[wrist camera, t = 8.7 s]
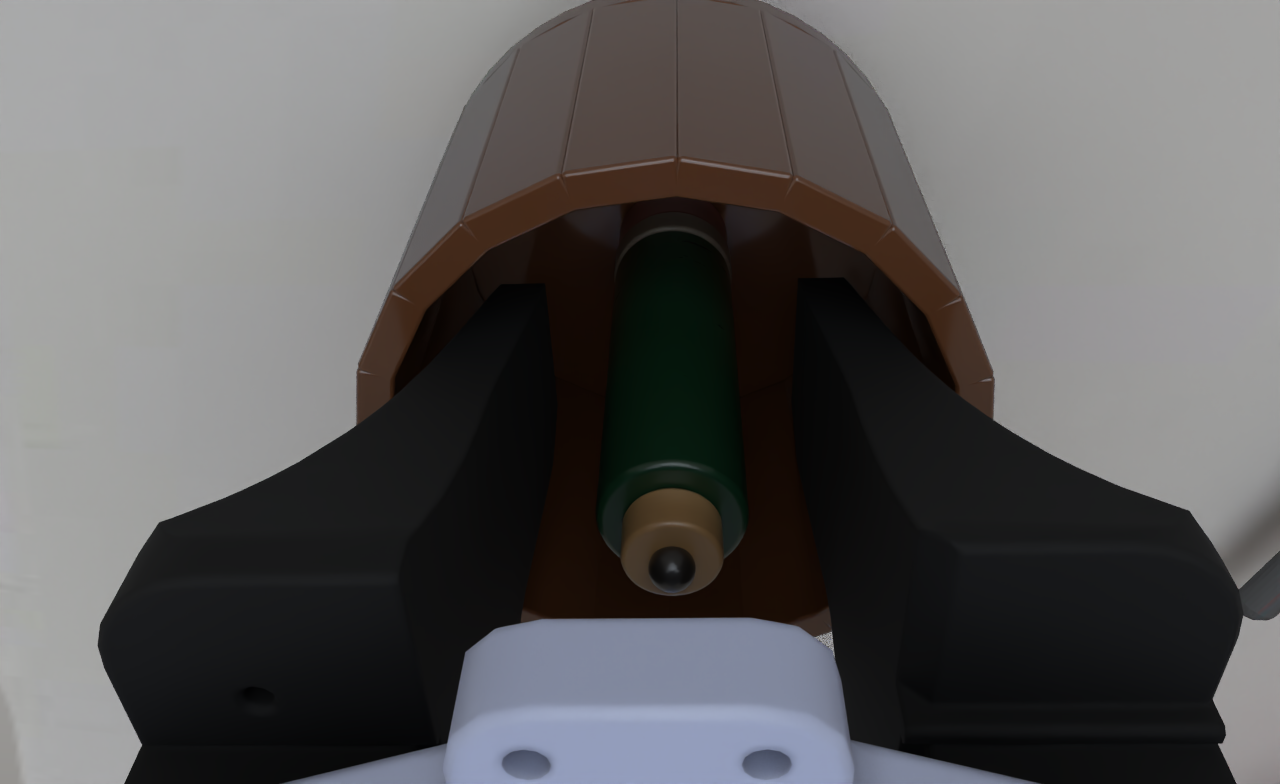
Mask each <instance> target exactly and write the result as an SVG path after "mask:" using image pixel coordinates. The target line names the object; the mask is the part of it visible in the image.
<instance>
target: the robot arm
mask: <svg viewBox="0 0 1280 784" xmlns="http://www.w3.org/2000/svg"><path fill="white" fill-rule="evenodd" d="M557 407H558V403H557V394H556V384H555V374H554V365H553V355H552V345H551V335H550V326H549V316H548V306H547V297H546V287H545V283H539V284H501V285H500V286H499V287H498V288H497V289H496V290H495V291H494V292H493V293H492V294H491V295H490V296H489V297H488V298H487V300H486V301H485V302H484V303H483V304H482V305H481V307H480V308H479V309H478V310H477V311H476V313H475V314H474V315H473V316H472V317H471V318H470V320H469V321H468V322H467V323H466V324H465V325H464V326H463V328H462V329H461V330H460V331H459V332H458V333H457V334H456V335H455V337H454V338H453V339H452V340H451V341H450V342H449V343H448V344H447V345H446V346H445V347H444V348H443V349H442V351H441V352H440V353H439V354H438V355H437V356H436V357H435V358H434V359H433V360H432V361H431V362H430V363H429V364H428V365H427V366H426V367H425V368H424V369H423V370H422V371H421V372H420V373H419V374H418V375H417V376H416V377H415V378H414V379H413V380H412V381H410V382H409V383H408V384H407V385H406V386H405V387H404V388H403V389H402V390H401V391H400V392H399V393H397V394H396V395H395V396H394V397H393V398H392V399H390V400H389V401H388V402H387V403H385V404H384V405H383V406H382V407H381V408H379V409H378V410H377V411H375V412H374V413H373V414H371V415H370V416H369V417H367V418H366V419H365V420H363V421H362V422H361V423H359V424H358V425H357V426H355V427H354V428H352V429H351V430H349V431H348V432H347V433H345V434H343V435H342V436H340V437H339V438H337V439H335V440H334V441H332V442H330V443H329V444H327V445H326V446H324V447H322V448H321V449H319V450H318V451H316V452H314V453H313V454H311V455H309V456H308V457H306V458H305V459H303V460H301V461H300V462H298V463H296V464H294V465H292V466H290V467H289V468H287V469H285V470H283V471H281V472H279V473H277V474H275V475H273V476H271V477H269V478H267V479H265V480H263V481H261V482H259V483H257V484H255V485H252V486H250V487H248V488H246V489H244V490H242V491H240V492H237V493H235V494H233V495H230V496H228V497H226V498H223V499H221V500H218V501H216V502H213V503H210V504H208V505H205V506H202V507H200V508H197V509H195V510H192V511H189V512H187V513H184V514H182V515H179V516H176V517H174V518H171V519H168V520H165V521H162V522H159V524H158V525H157V527H156V528H155V530H154V531H153V533H152V534H151V536H150V537H149V539H148V540H147V542H146V543H145V545H144V546H143V548H142V549H141V551H140V552H139V554H138V556H137V558H136V559H135V561H134V563H133V565H132V567H131V568H130V570H129V572H128V574H127V576H126V578H125V579H124V581H123V583H122V585H121V587H120V589H119V590H118V592H117V594H116V596H115V598H114V600H113V601H112V603H111V605H110V607H109V609H108V611H107V612H106V614H105V616H104V618H103V620H102V622H101V623H100V630H99V639H98V648H99V652H100V655H101V658H102V662H103V665H104V668H105V670H106V672H107V675H108V677H109V679H110V681H111V683H112V685H113V687H114V689H115V691H116V693H117V695H118V697H119V699H120V701H121V703H122V705H123V707H124V709H125V711H126V713H127V715H128V717H129V719H130V721H131V723H132V725H133V727H134V729H135V731H136V733H137V735H138V737H139V739H140V741H141V743H142V747H141V749H140V751H139V753H138V755H137V757H136V760H135V762H134V764H133V766H132V768H131V770H130V773H129V775H128V777H127V779H126V781H125V783H124V784H1236V782H1235V780H1234V777H1233V775H1232V773H1231V771H1230V769H1229V767H1228V765H1227V763H1226V760H1225V758H1224V756H1223V754H1222V752H1221V750H1220V748H1219V745H1218V743H1223V741H1224V738H1225V736H1226V732H1225V725H1224V723H1223V721H1222V719H1221V717H1220V715H1219V713H1218V710H1217V708H1216V706H1215V704H1214V702H1213V700H1212V699H1213V697H1214V694H1215V692H1216V689H1217V687H1218V685H1219V682H1220V680H1221V677H1222V675H1223V673H1224V670H1225V668H1226V665H1227V663H1228V661H1229V658H1230V656H1231V653H1232V651H1233V649H1234V646H1235V644H1236V641H1237V639H1238V636H1239V632H1240V627H1241V623H1242V618H1243V608H1242V603H1241V598H1240V593H1239V589H1238V588H1237V586H1236V584H1235V582H1234V581H1233V579H1232V577H1231V575H1230V573H1229V572H1228V570H1227V568H1226V566H1225V564H1224V562H1223V561H1222V559H1221V557H1220V556H1219V554H1218V552H1217V551H1216V549H1215V547H1214V546H1213V544H1212V542H1211V541H1210V540H1209V538H1208V537H1207V535H1206V534H1205V533H1204V531H1203V530H1202V528H1201V527H1200V526H1199V524H1198V523H1197V521H1196V520H1195V519H1194V517H1193V516H1192V514H1191V513H1190V511H1188V510H1185V509H1182V508H1179V507H1177V506H1174V505H1171V504H1168V503H1165V502H1162V501H1160V500H1157V499H1154V498H1151V497H1148V496H1145V495H1143V494H1140V493H1137V492H1134V491H1131V490H1128V489H1126V488H1123V487H1120V486H1118V485H1115V484H1113V483H1111V482H1108V481H1106V480H1104V479H1102V478H1099V477H1097V476H1095V475H1093V474H1090V473H1088V472H1086V471H1084V470H1081V469H1079V468H1077V467H1075V466H1073V465H1071V464H1069V463H1067V462H1065V461H1063V460H1061V459H1059V458H1057V457H1055V456H1053V455H1051V454H1049V453H1047V452H1046V451H1044V450H1042V449H1040V448H1038V447H1037V446H1035V445H1033V444H1031V443H1030V442H1028V441H1026V440H1024V439H1023V438H1021V437H1019V436H1017V435H1016V434H1014V433H1013V432H1011V431H1009V430H1008V429H1006V428H1005V427H1003V426H1001V425H1000V424H998V423H997V422H995V421H994V420H992V419H991V418H990V417H988V416H987V415H985V414H984V413H983V412H981V411H980V410H978V409H977V408H976V407H974V406H973V405H971V404H970V403H969V402H967V401H966V400H964V399H963V398H962V397H961V396H959V395H958V394H957V393H956V392H954V391H953V390H952V389H951V388H949V387H948V386H947V385H946V384H945V383H944V382H942V381H941V380H940V379H939V378H938V377H937V376H936V375H934V374H933V373H932V372H931V371H930V370H929V369H928V368H926V367H925V366H924V365H923V364H922V363H921V362H920V361H919V360H918V359H917V358H916V357H915V356H914V355H913V354H912V353H911V352H910V351H909V350H908V349H907V348H906V347H905V345H904V344H903V343H902V342H901V341H900V340H899V339H898V338H897V337H896V336H895V335H894V334H893V333H892V332H891V331H890V330H889V329H888V327H887V326H886V325H885V324H884V323H883V322H882V321H881V320H880V318H879V317H878V316H877V315H876V314H875V313H874V312H873V310H872V309H871V308H870V307H869V306H868V304H867V303H866V302H865V301H864V300H863V298H862V297H861V296H860V295H859V294H858V292H857V291H856V290H855V289H854V288H853V286H852V285H851V284H850V283H849V282H848V281H847V280H846V279H845V278H844V277H838V278H798V289H797V307H796V326H795V345H794V364H793V383H792V413H793V425H794V436H795V447H796V457H797V464H798V469H799V473H800V478H801V483H802V487H803V491H804V496H805V500H806V505H807V509H808V514H809V518H810V522H811V527H812V531H813V535H814V540H815V544H816V549H817V553H818V557H819V562H820V566H821V570H822V575H823V579H824V584H825V588H826V594H827V599H828V605H829V611H830V617H831V625H832V634H833V643H834V652H835V658H834V655H833V652H832V650H831V649H830V648H828V647H827V646H826V645H824V644H823V643H821V642H820V641H818V640H817V639H816V638H814V637H813V636H811V635H810V634H809V633H807V632H806V631H804V630H803V629H801V628H800V627H798V626H794V625H790V624H784V623H778V622H773V621H767V620H761V619H756V618H605V619H540V620H535V621H530V622H525V623H521V615H522V609H523V603H524V598H525V592H526V587H527V582H528V578H529V573H530V569H531V564H532V559H533V555H534V550H535V546H536V541H537V537H538V532H539V528H540V523H541V519H542V514H543V510H544V505H545V500H546V496H547V491H548V486H549V482H550V477H551V472H552V467H553V459H554V447H555V435H556V421H557ZM835 661H836V662H835Z"/></svg>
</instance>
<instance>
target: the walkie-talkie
mask: <svg viewBox="0 0 1280 784" xmlns="http://www.w3.org/2000/svg"><path fill="white" fill-rule="evenodd" d="M1239 593H1240V598H1241V603H1242V608H1243V615H1244V616H1245V617H1248V618H1250V619H1252V620H1269V619H1272V618H1274V617H1275V616H1277V615H1278V614H1279V613H1280V551H1279V552H1278V553H1277V554H1276V555H1275V556H1274V557H1273V558H1272V559H1271V560H1270V561H1269V562H1268V563H1266V564H1265V565H1264V566H1263V567H1262V568H1261V569H1260V570H1259V571H1258V572H1257V573H1256V574H1255V575H1254V576H1253V577H1252V578H1251V579H1250V580H1249V581H1248V582H1247V583H1246V584H1245V585H1244V586H1243V587H1241V588H1240V589H1239Z"/></svg>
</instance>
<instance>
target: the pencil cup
mask: <svg viewBox="0 0 1280 784" xmlns="http://www.w3.org/2000/svg"><path fill="white" fill-rule="evenodd" d="M671 197H681V198H688V199H694V200H701V201H707V202H709V203H711V204H712V205H713V206H714V207H715V208H716V210H717V211H718V212H719V213H720V215H721V217H722V219H723V221H724V224H725V227H726V232H727V244H728V249H729V252H730V257H731V269H732V282H731V295H732V307H733V320H734V332H735V345H736V357H737V370H738V382H739V395H740V407H741V420H742V433H743V445H744V458H745V470H746V483H747V495H748V508H749V521H748V526H747V530H746V532H745V534H744V536H743V538H742V540H741V541H740V543H739V544H738V546H737V547H736V548H735V549H734V551H733V552H732V553H731V554H729V555H728V556H727V557H726V558H724V562H723V565H722V568H721V570H720V572H719V574H718V575H717V577H716V578H715V579H714V580H713V581H712V582H711V583H710V584H709V585H707V586H706V587H704V588H702V589H700V590H698V591H696V592H693V593H690V594H685V595H677V596H667V595H660V594H655V593H652V592H649V591H647V590H644V589H642V588H641V587H639V586H638V585H636V584H635V583H634V582H633V581H632V580H630V578H629V577H628V576H627V574H626V573H625V571H624V569H623V567H622V564H621V559H620V557H618V556H617V555H616V554H615V553H614V552H613V551H612V550H611V549H610V548H609V547H608V546H607V544H606V543H605V541H604V539H603V538H602V536H601V534H600V532H599V529H598V527H597V522H596V502H597V491H598V479H599V467H600V456H601V444H602V432H603V421H604V409H605V398H606V386H607V374H608V363H609V351H610V339H611V328H612V316H613V305H614V293H615V281H614V270H615V259H616V253H617V250H618V246H619V235H620V228H621V225H622V222H623V220H624V218H625V216H626V214H627V213H628V211H629V210H630V209H631V208H632V207H633V206H634V205H635V204H636V203H637V202H642V201H649V200H657V199H664V198H671ZM838 277H844V278H845V279H846V280H847V281H848V282H849V283H850V284H851V285H852V286H853V288H854V289H855V290H856V291H857V292H858V294H859V295H860V296H861V297H862V298H863V300H864V301H865V302H866V303H867V304H868V306H869V307H870V308H871V309H872V310H873V312H874V313H875V314H876V315H877V316H878V317H879V318H880V320H881V321H882V322H883V323H884V324H885V325H886V326H887V327H888V329H889V330H890V331H891V332H892V333H893V334H894V335H895V336H896V337H897V338H898V339H899V340H900V341H901V342H902V343H903V344H904V345H905V347H906V348H907V349H908V350H909V351H910V352H911V353H912V354H913V355H914V356H915V357H916V358H917V359H918V360H919V361H920V362H921V363H922V364H923V365H924V366H925V367H926V368H928V369H929V370H930V371H931V372H932V373H933V374H934V375H936V376H937V377H938V378H939V379H940V380H941V381H942V382H944V383H945V384H946V385H947V386H948V387H949V388H951V389H952V390H953V391H954V392H956V393H957V394H958V395H959V396H961V397H962V398H963V399H964V400H966V401H967V402H969V403H970V404H971V405H973V406H974V407H976V408H977V409H978V410H980V411H981V412H983V413H984V414H985V415H987V416H988V417H990V418H991V419H992V420H993V417H994V387H995V379H994V376H993V369H992V367H991V364H990V362H989V359H988V357H987V354H986V352H985V349H984V346H983V344H982V341H981V339H980V336H979V334H978V331H977V329H976V326H975V324H974V321H973V319H972V316H971V314H970V311H969V309H968V306H967V304H966V301H965V298H964V296H963V294H962V291H961V289H960V286H959V284H958V281H957V279H956V276H955V274H954V271H953V269H952V267H951V264H950V262H949V259H948V257H947V254H946V252H945V249H944V247H943V244H942V242H941V240H940V237H939V235H938V232H937V230H936V227H935V225H934V222H933V220H932V217H931V215H930V212H929V210H928V208H927V205H926V203H925V200H924V198H923V195H922V193H921V190H920V188H919V185H918V183H917V181H916V178H915V176H914V173H913V171H912V168H911V166H910V163H909V161H908V158H907V156H906V154H905V151H904V149H903V146H902V144H901V141H900V139H899V136H898V134H897V131H896V129H895V127H894V124H893V122H892V119H891V117H890V114H889V112H888V109H887V108H886V107H885V105H884V103H883V102H882V100H881V99H880V97H879V96H878V94H877V93H876V91H875V89H874V88H873V86H872V85H871V83H870V82H869V80H868V79H867V77H866V76H865V75H864V74H863V73H862V71H861V70H860V69H859V68H858V67H857V66H856V65H855V63H854V62H853V61H852V60H851V59H850V58H849V57H848V55H847V54H846V53H844V52H843V51H842V50H841V49H840V48H839V47H837V46H836V45H835V44H834V43H833V42H832V41H830V40H829V39H828V38H827V37H826V36H825V35H823V34H822V33H821V32H819V31H817V30H816V29H814V28H813V27H811V26H810V25H808V24H806V23H805V22H803V21H802V20H800V19H799V18H797V17H795V16H794V15H791V14H789V13H787V12H785V11H783V10H780V9H778V8H776V7H774V6H771V5H769V4H767V3H765V2H762V1H759V0H592V1H590V2H587V3H585V4H582V5H580V6H577V7H575V8H573V9H570V10H568V11H565V12H563V13H562V14H560V15H558V16H556V17H555V18H553V19H551V20H549V21H548V22H546V23H544V24H542V25H541V26H539V27H537V28H536V29H534V30H533V31H532V32H531V33H529V34H528V35H527V36H525V37H524V38H523V39H522V40H520V41H519V42H518V43H516V44H515V45H514V46H513V47H511V48H510V49H509V50H508V51H507V52H506V53H505V54H504V55H503V57H502V58H501V59H500V60H499V61H498V62H497V63H496V64H495V65H494V66H493V67H492V68H491V69H490V70H489V71H488V73H487V74H486V75H485V77H484V78H483V80H482V81H481V82H480V84H479V85H478V87H477V88H476V89H475V91H474V92H473V93H472V95H471V97H470V99H469V100H468V102H467V104H466V105H465V106H464V108H463V111H462V113H461V115H460V118H459V120H458V122H457V124H456V127H455V129H454V132H453V134H452V136H451V139H450V141H449V143H448V146H447V148H446V150H445V153H444V155H443V157H442V160H441V162H440V164H439V167H438V169H437V172H436V174H435V177H434V179H433V181H432V184H431V186H430V189H429V191H428V194H427V196H426V199H425V201H424V204H423V206H422V208H421V211H420V213H419V216H418V218H417V221H416V223H415V226H414V228H413V230H412V233H411V235H410V238H409V240H408V243H407V245H406V248H405V250H404V252H403V255H402V257H401V260H400V262H399V265H398V267H397V270H396V272H395V274H394V277H393V279H392V282H391V284H390V287H389V289H388V292H387V294H386V296H385V299H384V301H383V304H382V306H381V309H380V311H379V314H378V316H377V319H376V321H375V323H374V326H373V328H372V331H371V333H370V336H369V338H368V341H367V343H366V345H365V348H364V350H363V353H362V355H361V358H360V360H359V363H358V369H357V371H356V426H357V425H358V424H359V423H361V422H362V421H363V420H365V419H366V418H367V417H369V416H370V415H371V414H373V413H374V412H375V411H377V410H378V409H379V408H381V407H382V406H383V405H384V404H385V403H387V402H388V401H389V400H390V399H392V398H393V397H394V396H395V395H396V394H397V393H399V392H400V391H401V390H402V389H403V388H404V387H405V386H406V385H407V384H408V383H409V382H410V381H412V380H413V379H414V378H415V377H416V376H417V375H418V374H419V373H420V372H421V371H422V370H423V369H424V368H425V367H426V366H427V365H428V364H429V363H430V362H431V361H432V360H433V359H434V358H435V357H436V356H437V355H438V354H439V353H440V352H441V351H442V349H443V348H444V347H445V346H446V345H447V344H448V343H449V342H450V341H451V340H452V339H453V338H454V337H455V335H456V334H457V333H458V332H459V331H460V330H461V329H462V328H463V326H464V325H465V324H466V323H467V322H468V321H469V320H470V318H471V317H472V316H473V315H474V314H475V313H476V311H477V310H478V309H479V308H480V307H481V305H482V304H483V303H484V302H485V301H486V300H487V298H488V297H489V296H490V295H491V294H492V293H493V292H494V291H495V290H496V289H497V288H498V287H499V286H500V285H501V284H539V283H545V287H546V297H547V306H548V316H549V326H550V335H551V345H552V355H553V365H554V374H555V384H556V394H557V403H558V407H557V421H556V435H555V447H554V459H553V467H552V472H551V477H550V482H549V486H548V491H547V496H546V500H545V505H544V510H543V514H542V519H541V523H540V528H539V532H538V537H537V541H536V546H535V550H534V555H533V559H532V564H531V569H530V573H529V578H528V582H527V587H526V592H525V598H524V603H523V609H522V615H521V623H525V622H530V621H535V620H540V619H605V618H756V619H761V620H767V621H773V622H778V623H784V624H790V625H794V626H798V627H800V628H801V629H803V630H804V631H806V632H807V633H809V634H810V635H811V636H813V637H817V636H820V635H823V634H827V633H830V632H831V631H832V625H831V617H830V611H829V605H828V599H827V594H826V588H825V584H824V579H823V575H822V570H821V566H820V562H819V557H818V553H817V549H816V544H815V540H814V535H813V531H812V527H811V522H810V518H809V514H808V509H807V505H806V500H805V496H804V491H803V487H802V483H801V478H800V473H799V469H798V464H797V457H796V447H795V436H794V425H793V413H792V383H793V364H794V345H795V326H796V307H797V289H798V278H838Z"/></svg>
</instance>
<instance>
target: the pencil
mask: <svg viewBox="0 0 1280 784" xmlns="http://www.w3.org/2000/svg"><path fill="white" fill-rule="evenodd" d="M614 281H615V293H614V305H613V316H612V328H611V339H610V351H609V363H608V374H607V386H606V398H605V409H604V421H603V432H602V444H601V456H600V467H599V479H598V491H597V502H596V522H597V527H598V529H599V532H600V534H601V536H602V538H603V539H604V541H605V543H606V544H607V546H608V547H609V548H610V549H611V550H612V551H613V552H614V553H615V554H616V555H617V556H618V557H620V559H621V564H622V567H623V569H624V571H625V573H626V574H627V576H628V577H629V578H630V580H632V581H633V582H634V583H635V584H636V585H638V586H639V587H641V588H642V589H644V590H647V591H649V592H652V593H655V594H660V595H667V596H677V595H685V594H690V593H693V592H696V591H698V590H700V589H702V588H704V587H706V586H707V585H709V584H710V583H711V582H712V581H713V580H714V579H715V578H716V577H717V575H718V574H719V572H720V570H721V568H722V565H723V562H724V558H726V557H727V556H728V555H729V554H731V553H732V552H733V551H734V549H735V548H736V547H737V546H738V544H739V543H740V541H741V540H742V538H743V536H744V534H745V532H746V530H747V526H748V521H749V508H748V495H747V483H746V470H745V458H744V445H743V433H742V420H741V407H740V395H739V382H738V370H737V357H736V345H735V332H734V320H733V307H732V295H731V282H732V269H731V257H730V252H729V249H728V244H727V232H726V227H725V224H724V221H723V219H722V217H721V215H720V213H719V212H718V211H717V210H716V208H715V207H714V206H713V205H712V204H711V203H709V202H707V201H701V200H694V199H688V198H681V197H671V198H664V199H657V200H649V201H642V202H637V203H636V204H635V205H634V206H633V207H632V208H631V209H630V210H629V211H628V213H627V214H626V216H625V218H624V220H623V222H622V225H621V228H620V235H619V246H618V250H617V253H616V259H615V270H614Z"/></svg>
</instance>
